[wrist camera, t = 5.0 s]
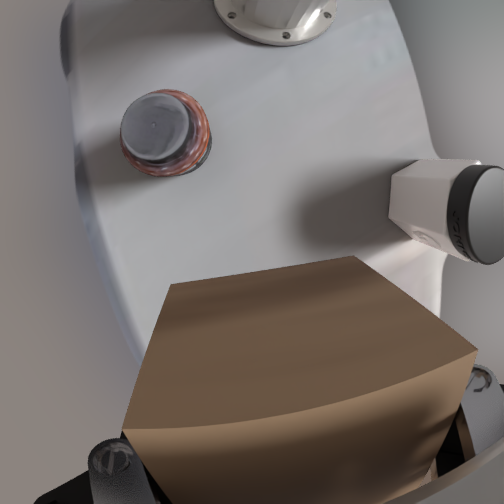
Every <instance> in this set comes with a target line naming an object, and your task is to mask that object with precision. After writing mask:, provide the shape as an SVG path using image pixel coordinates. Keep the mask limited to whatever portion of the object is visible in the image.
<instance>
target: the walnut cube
mask: <svg viewBox="0 0 504 504" xmlns="http://www.w3.org/2000/svg"><path fill="white" fill-rule="evenodd" d="M477 352H478V349H477V348H476V347H474V346H473V345H472V344H471V343H470V342H468V341H467V340H466V339H465V338H464V337H462V336H461V335H460V334H458V333H457V332H456V331H455V330H454V329H452V328H451V327H450V326H448V325H447V324H446V323H445V322H443V321H442V320H441V319H439V318H438V317H437V316H436V315H434V314H433V313H432V312H430V311H429V310H428V309H426V308H425V307H424V306H423V305H421V304H420V303H419V302H417V301H416V300H415V299H413V298H412V297H411V296H409V295H408V294H406V293H405V292H404V291H402V290H401V289H400V288H398V287H397V286H396V285H394V284H393V283H392V282H390V281H389V280H387V279H386V278H385V277H383V276H382V275H380V274H379V273H378V272H376V271H375V270H373V269H372V268H371V267H369V266H368V265H366V264H365V263H364V262H362V261H361V260H359V259H358V258H356V257H355V256H348V257H342V258H336V259H330V260H324V261H318V262H312V263H306V264H300V265H294V266H288V267H282V268H275V269H269V270H263V271H256V272H250V273H244V274H237V275H231V276H224V277H217V278H211V279H204V280H197V281H190V282H183V283H177V284H171V285H170V288H169V290H168V293H167V296H166V298H165V301H164V304H163V306H162V309H161V312H160V314H159V317H158V320H157V322H156V325H155V328H154V331H153V334H152V336H151V339H150V342H149V345H148V348H147V351H146V354H145V357H144V360H143V362H142V365H141V369H140V371H139V374H138V378H137V381H136V384H135V387H134V390H133V393H132V396H131V399H130V403H129V406H128V409H127V413H126V416H125V419H124V423H123V426H122V430H123V432H124V434H125V435H126V437H127V439H128V440H129V442H130V444H131V445H132V447H133V448H134V450H135V451H136V453H137V455H138V456H139V458H140V459H141V461H142V462H143V464H144V465H145V467H146V468H147V470H148V471H149V472H150V474H151V475H152V477H153V478H154V479H155V481H156V482H157V484H158V485H159V486H160V488H161V489H162V490H163V492H164V493H165V494H166V496H167V497H168V498H169V499H170V501H171V502H172V503H173V504H382V503H385V502H387V501H390V500H392V499H394V498H397V497H399V496H402V495H404V494H406V493H408V492H411V491H413V490H415V489H417V488H418V487H419V485H420V484H421V482H422V480H423V479H424V477H425V475H426V474H427V472H428V470H429V468H430V466H431V465H432V463H433V461H434V459H435V457H436V455H437V453H438V451H439V449H440V447H441V445H442V443H443V441H444V439H445V437H446V435H447V433H448V431H449V428H450V426H451V424H452V422H453V419H454V417H455V415H456V412H457V410H458V407H459V405H460V402H461V400H462V397H463V394H464V392H465V389H466V386H467V383H468V380H469V378H470V375H471V372H472V368H473V365H474V362H475V358H476V355H477Z"/></svg>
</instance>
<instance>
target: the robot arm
mask: <svg viewBox="0 0 504 504" xmlns="http://www.w3.org/2000/svg"><path fill="white" fill-rule="evenodd" d="M213 1H214V6H215V9H216V11H217V14H218V15H219V16H220V18H221V19H222V20H223V22H224V23H225V24H227V25H228V26H229V27H230V28H231V29H232V30H234V31H235V32H237V33H239V34H240V35H242V36H244V37H246V38H249V39H251V40H254V41H257V42H260V43H264V44H270V45H278V46H290V45H298V44H302V43H306V42H309V41H312V40H313V39H315V38H317V37H319V36H320V35H322V34H323V33H324V32H325V31H326V30H327V29H328V28H329V26H330V25H331V24H332V22H333V21H334V19H335V16H336V11H337V3H336V0H213ZM230 18H234V19H230ZM283 37H285V38H286V39H284V38H283ZM430 470H431V479H432V481H431V482H429V483H428V484H425V485H423V486H421V487H419V488H417V489H415V490H413V491H411V492H408V493H406V494H404V495H402V496H399V497H397V498H394V499H392V500H390V501H387V502H385V503H382V504H504V385H502V384H499V382H498V380H497V378H496V376H495V375H494V373H493V372H492V371H491V370H490V369H488V368H487V367H485V366H482V365H477V364H474V365H473V368H472V372H471V375H470V378H469V380H468V383H467V386H466V389H465V392H464V394H463V397H462V400H461V402H460V405H459V407H458V410H457V412H456V415H455V417H454V419H453V422H452V424H451V426H450V428H449V431H448V433H447V435H446V437H445V439H444V441H443V443H442V445H441V447H440V449H439V451H438V453H437V455H436V457H435V459H434V461H433V463H432V465H431V466H430ZM34 504H173V503H172V502H171V501H170V499H169V498H168V497H167V496H166V494H165V493H164V492H163V490H162V489H161V488H160V486H159V485H158V484H157V482H156V481H155V479H154V478H153V477H152V475H151V474H150V472H149V471H148V470H147V468H146V467H145V465H144V464H143V462H142V461H141V459H140V458H139V456H138V455H137V453H136V451H135V450H134V448H133V447H132V445H131V444H130V442H129V440H128V439H127V437H126V435H125V434H124V432H123V430H122V433H121V436H120V438H113V439H108V440H105V441H103V442H101V443H99V444H98V445H96V446H95V447H94V448H93V449H92V450H91V452H90V454H89V456H88V471H86V472H84V473H82V474H81V475H79V476H77V477H76V478H74V479H72V480H70V481H68V482H67V483H65V484H63V485H61V486H59V487H57V488H56V489H53V490H51V491H49V492H47V493H46V494H43V495H42V496H40V497H39V498H38V499H37V500H36V501H35V502H34Z"/></svg>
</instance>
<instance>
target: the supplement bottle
mask: <svg viewBox="0 0 504 504" xmlns="http://www.w3.org/2000/svg"><path fill="white" fill-rule="evenodd" d="M120 143H121V147H122V151H123V153H124V155H125V157H126V158H127V160H128V161H129V162H130V163H131V164H132V165H133V166H134V167H135V168H136V169H138V170H139V171H141V172H143V173H146V174H148V175H152V176H176V175H184V174H187V173H190V172H192V171H194V170H196V169H197V168H199V167H200V166H201V165H202V164H203V163H204V161H205V160H206V159H207V157H208V155H209V152H210V150H211V144H212V137H211V132H210V128H209V123H208V120H207V117H206V115H205V113H204V111H203V109H202V107H201V106H200V104H199V103H198V102H197V101H196V100H195V99H194V98H192V97H191V96H189V95H188V94H186V93H184V92H181V91H177V90H171V89H164V90H157V91H154V92H151V93H148V94H146V95H144V96H142V97H140V98H139V99H137V100H135V101H134V102H133V103H132V104H131V105H130V106H129V108H128V109H127V110H126V112H125V114H124V116H123V119H122V122H121V128H120Z"/></svg>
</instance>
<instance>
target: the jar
mask: <svg viewBox="0 0 504 504" xmlns="http://www.w3.org/2000/svg"><path fill="white" fill-rule="evenodd" d="M388 217H389V219H390V220H392V221H393V222H394V223H395V224H396V225H398V226H399V227H400V228H401V229H402V230H403V231H405V232H406V233H407V234H408V235H409V236H410V237H411V238H413V239H414V240H416V241H419V242H421V243H424V244H426V245H429V246H431V247H434V248H436V249H439V250H441V251H444V252H446V253H448V254H451V255H453V256H456V257H458V258H460V259H463V260H465V261H470V260H472V261H474V262H479V263H481V264H485V265H491V264H494V263H496V262H498V261H499V260H501V259H502V258H503V257H504V169H503V168H501V167H498V166H492V165H482V164H481V163H480V161H478V160H456V159H449V160H448V159H420V160H418V161H416V162H415V163H413V164H411V165H409V166H407V167H405V168H403V169H402V170H400V171H398V172H396V173H394V174H392V176H391V192H390V205H389V215H388Z"/></svg>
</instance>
